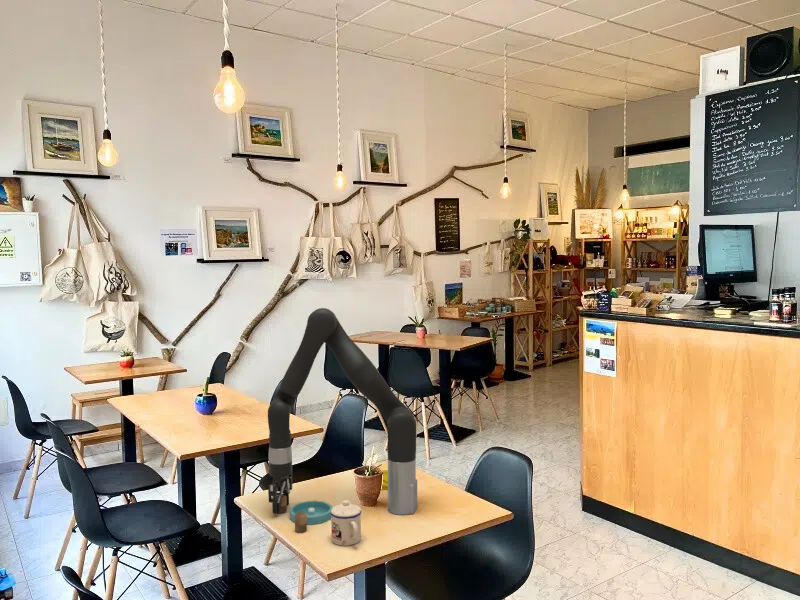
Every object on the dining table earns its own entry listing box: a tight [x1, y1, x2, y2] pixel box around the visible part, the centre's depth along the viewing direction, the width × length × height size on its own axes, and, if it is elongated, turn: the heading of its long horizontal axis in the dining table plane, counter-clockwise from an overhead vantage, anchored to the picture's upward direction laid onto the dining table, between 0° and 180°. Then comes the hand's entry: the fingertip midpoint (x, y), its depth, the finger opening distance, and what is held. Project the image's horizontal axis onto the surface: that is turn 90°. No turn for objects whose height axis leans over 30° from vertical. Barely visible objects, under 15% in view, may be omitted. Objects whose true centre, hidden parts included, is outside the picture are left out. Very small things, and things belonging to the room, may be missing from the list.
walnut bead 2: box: [294, 512, 308, 534], centre depth 196 cm, size 4×4×5 cm
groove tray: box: [289, 500, 334, 526], centre depth 207 cm, size 14×14×2 cm
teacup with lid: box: [330, 499, 363, 547], centre depth 188 cm, size 12×9×12 cm
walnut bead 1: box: [277, 495, 288, 515], centre depth 210 cm, size 4×4×5 cm
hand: (281, 509), depth 210 cm, fingers open, 6 cm apart
